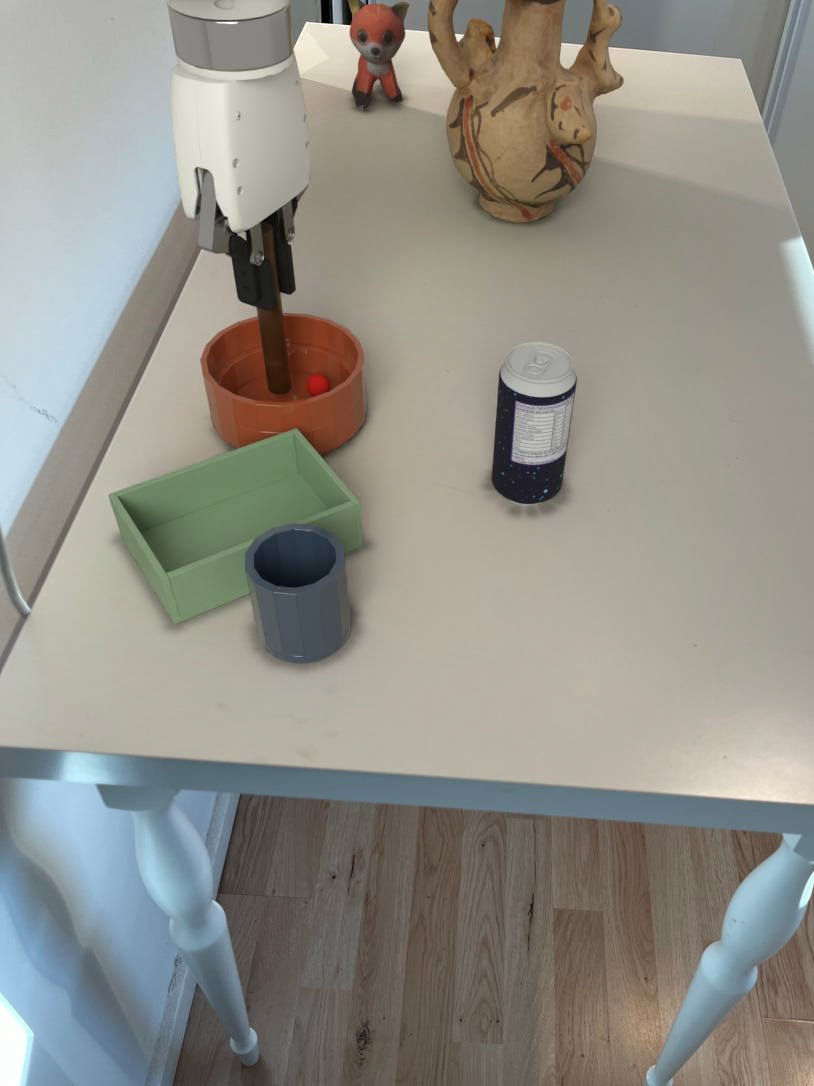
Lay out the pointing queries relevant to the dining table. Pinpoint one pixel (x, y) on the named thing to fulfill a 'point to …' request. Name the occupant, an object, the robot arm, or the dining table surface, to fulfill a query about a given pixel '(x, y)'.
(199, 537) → the tray
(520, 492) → the beverage can
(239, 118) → the robot arm
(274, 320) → the stick
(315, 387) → the berry
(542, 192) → the ceramic vessel
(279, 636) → the holder
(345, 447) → the dining table surface
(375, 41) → the stuffed fox
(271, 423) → the bowl
